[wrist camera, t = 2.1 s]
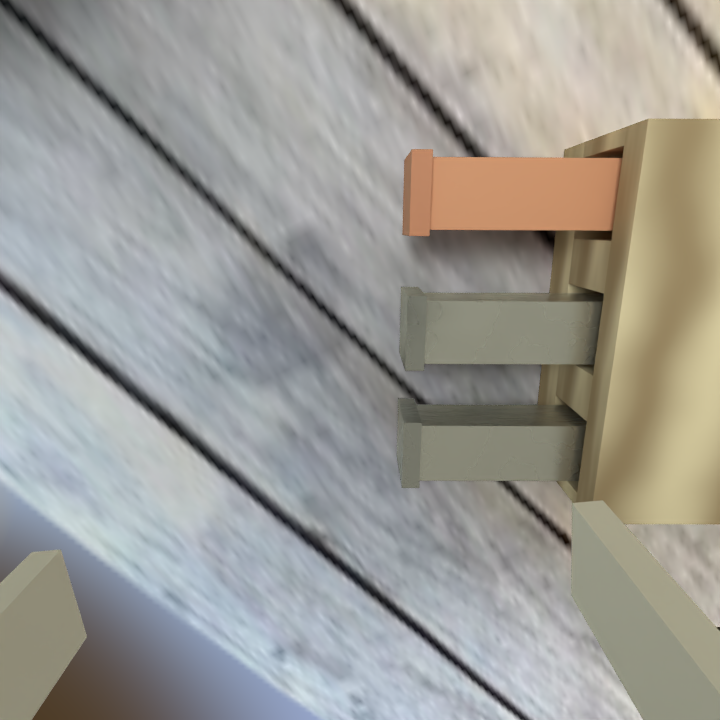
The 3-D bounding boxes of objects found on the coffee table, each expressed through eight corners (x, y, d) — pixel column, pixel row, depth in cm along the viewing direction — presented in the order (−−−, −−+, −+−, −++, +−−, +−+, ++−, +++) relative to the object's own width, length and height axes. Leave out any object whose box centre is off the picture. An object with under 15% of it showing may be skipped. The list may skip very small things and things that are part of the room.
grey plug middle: (399, 352, 30) (405, 370, 26) (401, 286, 29) (407, 296, 25) (675, 353, 30) (721, 371, 26) (687, 288, 29) (737, 297, 25)
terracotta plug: (402, 234, 28) (409, 235, 24) (404, 160, 27) (412, 149, 23) (696, 235, 28) (749, 237, 25) (710, 161, 27) (767, 151, 23)
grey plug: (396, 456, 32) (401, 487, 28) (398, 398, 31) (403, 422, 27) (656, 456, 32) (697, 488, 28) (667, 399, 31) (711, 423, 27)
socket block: (532, 450, 35) (589, 524, 27) (564, 149, 30) (648, 118, 21) (755, 451, 35) (884, 524, 27) (826, 151, 30) (1016, 120, 21)
